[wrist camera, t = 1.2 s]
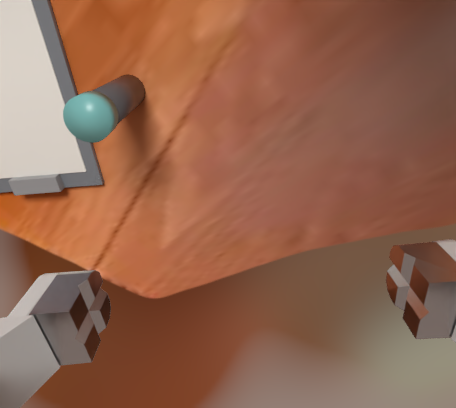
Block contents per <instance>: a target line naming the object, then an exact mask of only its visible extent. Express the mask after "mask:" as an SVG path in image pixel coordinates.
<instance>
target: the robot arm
mask: <svg viewBox="0 0 456 408" xmlns="http://www.w3.org/2000/svg"><path fill="white" fill-rule="evenodd" d="M389 258H390V259H391V261H392V262H393V265H392V267H391V268H390V269H389V270H388V271H387V277H386V283H387V290H388V293H389V295H390V298H391V300H392V301H393V303H394V305H395V306H397V307H399V308H400V309H402V310H404V314H403V319H404V321H405V322H406V324H407V326H408V327H409V329H410V331H411V332H412V334H413V335H414V337H415V338H416V339H427V338H451V337H452V338H451V339H452V340H453V341H454V342H456V241H455V240H452V239H449V240H440V241H432V242H428V243H416V244H405V245H394V246H393V247H392V249H391V251H390V257H389ZM102 283H103V280H102V278H101V275H100V273H99V272H97V271H95V270H92V271H77V272H62V273H48V274H43V275H41V276H39V277H38V278H37V280H36V281H35V282H34V284H33V285H32V286H31V288H30V289H29V290H28V291H27V293H26V294H25V295H24V296H23V298H22V299H21V300H20V301H19V303H18V304H17V305H16V307H15V308H14V309H13V310H12V312H11V313H10V314H9V316H8V317H6V318H5V317H4V318H0V408H20V407H21V406H22V405H23V404H24V403H25V402H26V401H27V400H28V399H29V398H30V397H31V396H32V395H33V394H34V393H35V392H36V391H37V390H38V389H39V388H40V387H41V386H42V385H43V384H44V383H45V382H46V381H47V380H48V379H49V378H50V377H51V376H52V375H53V374H54V373H55V372H56V371H57V370H58V369H59V368H60V365H68V364H78V363H88V362H92V360H93V358H94V356H95V353H96V351H97V348H98V346H99V344H100V341H101V340H100V337H99V335H98V334H99V333H100V332H101V331H102V330H103V329H105V328H106V326H107V324H108V321H109V319H110V310H111V306H110V299H109V297H108V294H107V293H106V292H105V291H103V290H102V289H101V288H100V287H101V285H102Z"/></svg>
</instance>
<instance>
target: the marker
mask: <svg viewBox="0 0 456 408" xmlns="http://www.w3.org/2000/svg"><path fill="white" fill-rule="evenodd" d="M144 97H145V88H144V85H143V84H142V82H141V81H140V80H139V79H138V78H137V77H135V76H133V75H123V76H121V77H119V78H117V79H115V80H113V81H111V82H109V83H107V84H105V85H103V86H101V87H99V88H97V89H95V90H93V91H87V92H84V93H82V94H80V95H78V96H75V97H73V98H71V99H70V100H69V101H68V102H67V103H66V105H65V107H64V110H63V119H64V122H65V125H66V127H67V128H68V130H69V131H70V132H71V133H72V134H73V135H74V136H75V137H76V138H78V139H80V140H82V141H85V142H90V143H94V142H99V141H101V140H103V139H104V138H105V137H107V136H108V135H109V134H110V133H111V132H112V131H113V130H114V129H115V128H116V126H117V124H118V123H119V122H120V121H121V120H122V119H123V118H125V117H126V116H127V115H128V114H129V113H130V112H131V111H132V110H133V109H134V108H136V107H137V106H138V105H139V104H140V103H141V102H142V101H143V99H144Z"/></svg>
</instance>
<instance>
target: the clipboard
mask: <svg viewBox="0 0 456 408" xmlns="http://www.w3.org/2000/svg"><path fill="white" fill-rule="evenodd" d="M75 96H78V93H77V90H76V86H75V83H74V80H73V76H72V73H71V70H70V66H69V63H68V60H67V56H66V53H65V50H64V46H63V43H62V40H61V36H60V33H59V29H58V26H57V23H56V19H55V16H54V13H53V9H52V6H51V3H50V0H0V193H2V192H13V193H14V195H25V194H38V193H51V192H61V191H62V190H63V189H64V188H65V187H78V186H91V185H103V183H104V180H103V177H102V173H101V170H100V167H99V163H98V160H97V157H96V153H95V150H94V147H93V143H90V142H85V141H82V140H80V139H78V138H76V137H75V136H74V135H73V134H72V133H71V132H70V131H69V130H68V128H67V127H66V125H65V122H64V119H63V110H64V107H65V105H66V103H67V102H68V101H69V100H70V99H71V98H73V97H75Z"/></svg>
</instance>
